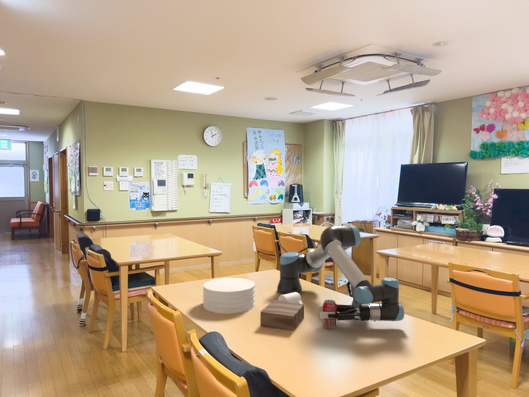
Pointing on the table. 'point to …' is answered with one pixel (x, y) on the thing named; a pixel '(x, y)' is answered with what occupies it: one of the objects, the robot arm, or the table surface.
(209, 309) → the plate stack
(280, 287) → the robot arm
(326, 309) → the beverage can
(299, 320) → the walnut block
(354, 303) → the coffeepot
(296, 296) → the mug
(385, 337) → the table surface
